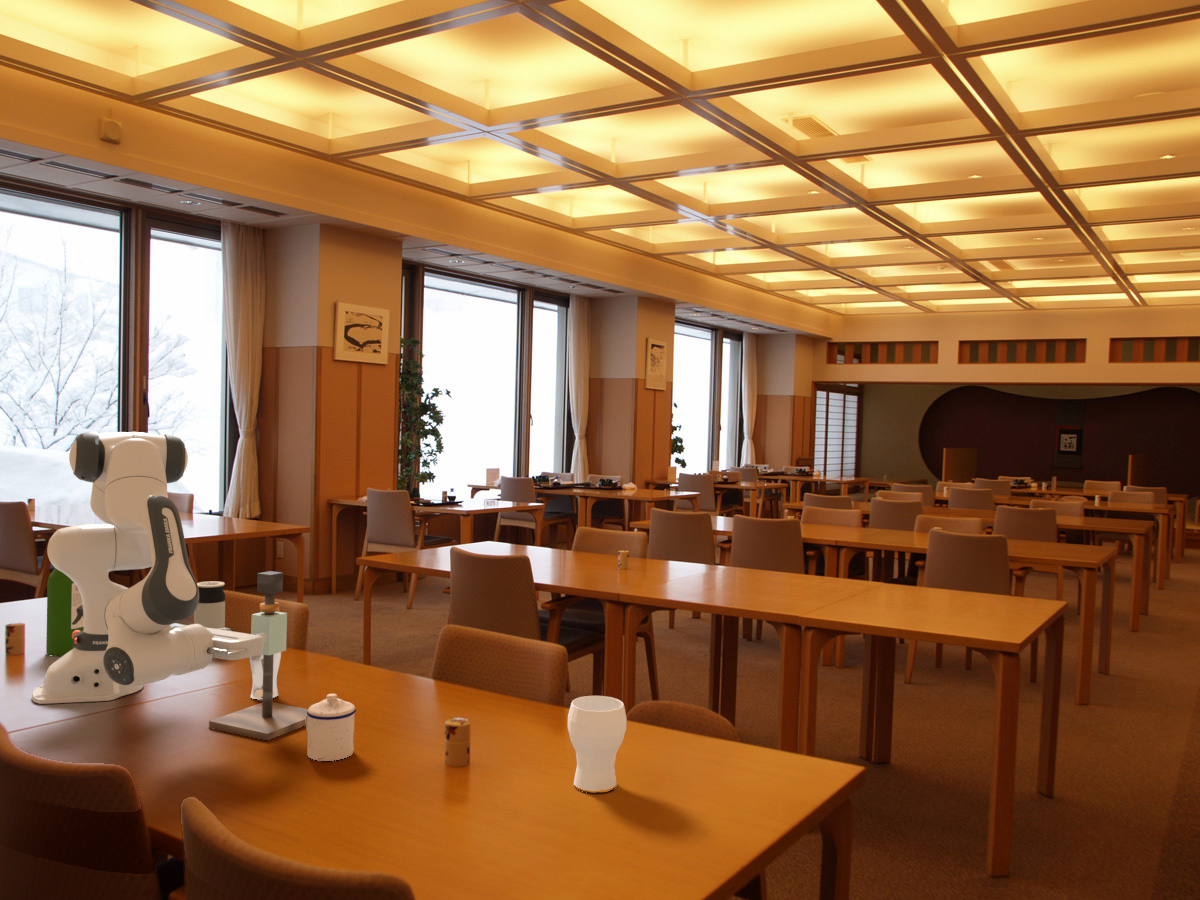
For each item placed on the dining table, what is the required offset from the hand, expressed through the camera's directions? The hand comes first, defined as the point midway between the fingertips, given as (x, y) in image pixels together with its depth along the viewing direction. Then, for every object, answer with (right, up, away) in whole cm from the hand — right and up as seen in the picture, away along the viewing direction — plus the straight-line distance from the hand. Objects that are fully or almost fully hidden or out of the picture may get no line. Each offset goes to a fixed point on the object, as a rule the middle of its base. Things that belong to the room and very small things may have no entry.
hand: (246, 634), depth 188 cm
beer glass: (-5, -20, +25) cm, 32 cm away
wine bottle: (-71, -17, +59) cm, 94 cm away
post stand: (+2, -20, +6) cm, 21 cm away
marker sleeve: (+2, -5, +6) cm, 8 cm away
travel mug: (-37, -18, +69) cm, 80 cm away
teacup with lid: (+19, -21, -9) cm, 30 cm away
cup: (+72, -23, -22) cm, 78 cm away
